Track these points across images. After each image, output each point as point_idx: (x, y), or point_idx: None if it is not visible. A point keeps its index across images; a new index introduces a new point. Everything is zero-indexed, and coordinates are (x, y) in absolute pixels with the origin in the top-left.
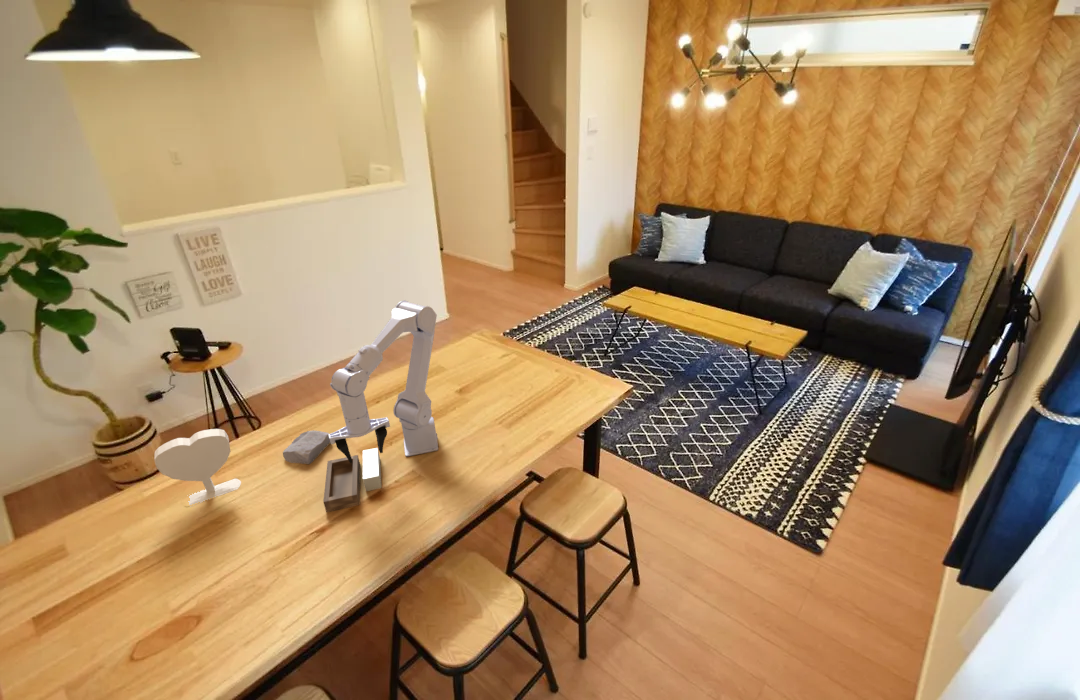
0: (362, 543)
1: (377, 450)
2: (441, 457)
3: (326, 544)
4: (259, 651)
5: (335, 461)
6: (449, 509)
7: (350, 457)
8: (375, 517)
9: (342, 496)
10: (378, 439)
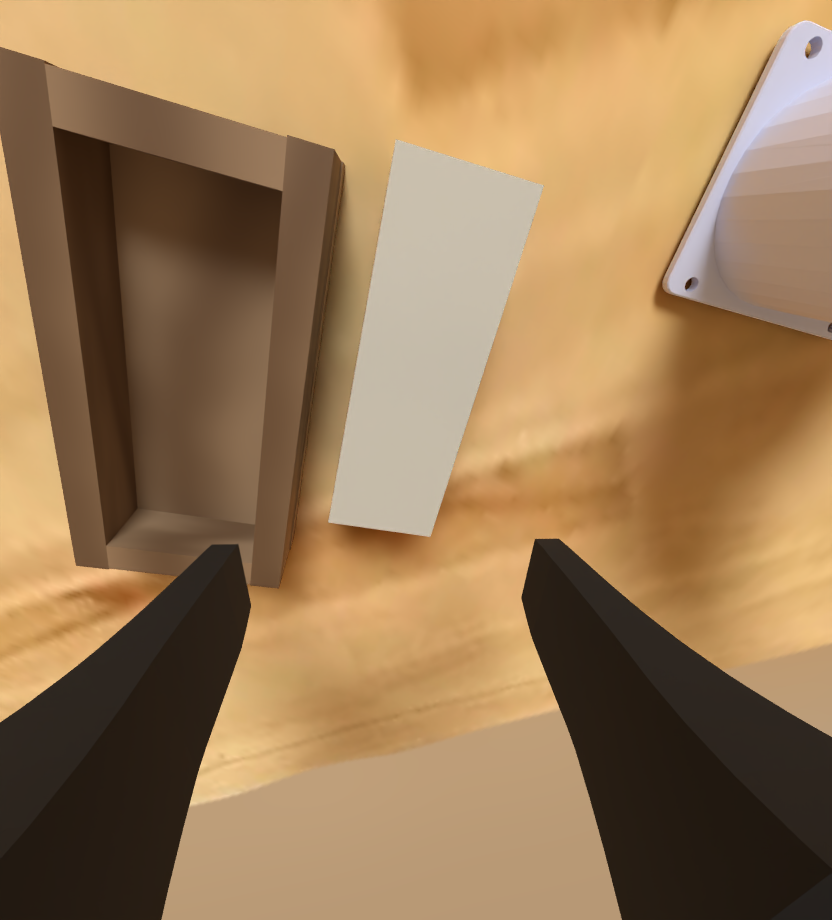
0: (285, 690)
1: (524, 237)
2: (798, 411)
3: None
4: None
5: (91, 124)
6: None
7: (218, 695)
8: (350, 619)
9: None
10: (612, 872)
